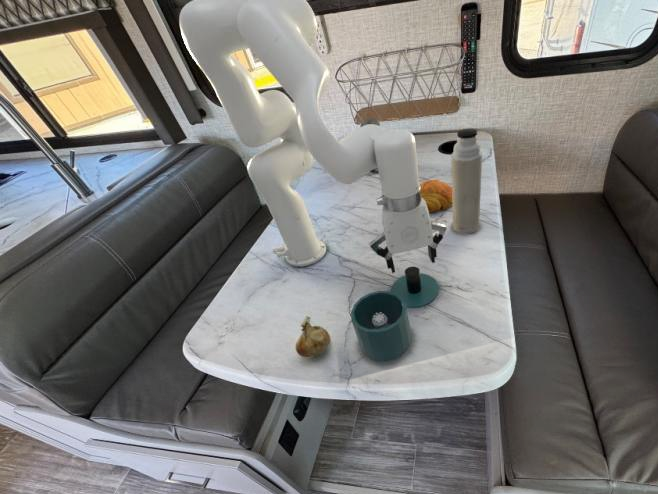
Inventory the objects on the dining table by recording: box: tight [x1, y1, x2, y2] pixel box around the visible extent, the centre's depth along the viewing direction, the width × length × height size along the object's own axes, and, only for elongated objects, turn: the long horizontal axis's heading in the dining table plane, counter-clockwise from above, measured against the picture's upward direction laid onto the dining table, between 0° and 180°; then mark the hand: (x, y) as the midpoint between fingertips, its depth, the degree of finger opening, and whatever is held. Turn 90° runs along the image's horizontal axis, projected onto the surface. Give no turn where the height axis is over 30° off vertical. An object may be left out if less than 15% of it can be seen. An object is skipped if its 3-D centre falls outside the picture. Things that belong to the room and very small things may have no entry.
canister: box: [350, 290, 412, 363], centre depth 72 cm, size 11×11×10 cm
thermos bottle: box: [450, 127, 483, 234], centre depth 94 cm, size 8×8×28 cm
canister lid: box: [390, 266, 440, 309], centre depth 83 cm, size 12×12×7 cm
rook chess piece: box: [372, 312, 388, 330], centre depth 73 cm, size 4×4×8 cm
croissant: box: [420, 179, 453, 213], centre depth 114 cm, size 14×16×8 cm
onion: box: [295, 315, 331, 358], centre depth 74 cm, size 8×8×8 cm
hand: (412, 264), depth 79 cm, fingers open, 9 cm apart
